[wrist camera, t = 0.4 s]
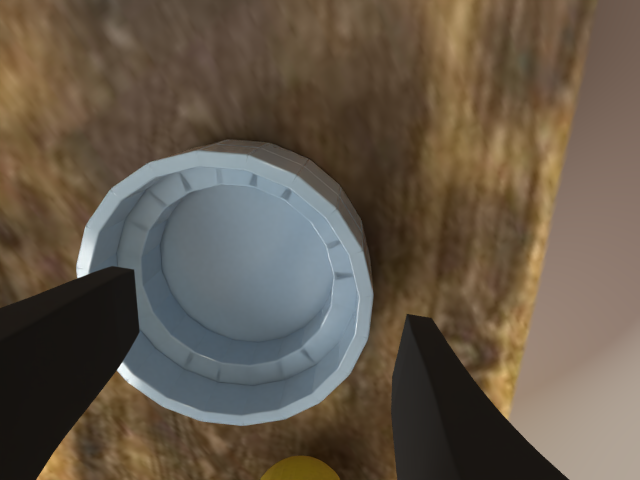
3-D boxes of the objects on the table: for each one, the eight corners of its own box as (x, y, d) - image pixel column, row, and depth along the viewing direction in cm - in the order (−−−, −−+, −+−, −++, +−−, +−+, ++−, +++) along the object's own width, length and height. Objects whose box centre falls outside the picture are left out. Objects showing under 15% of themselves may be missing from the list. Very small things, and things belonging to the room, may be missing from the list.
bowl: (223, 394, 26) (194, 462, 21) (87, 220, 23) (17, 252, 18) (411, 299, 23) (426, 352, 18) (282, 87, 20) (260, 84, 15)
